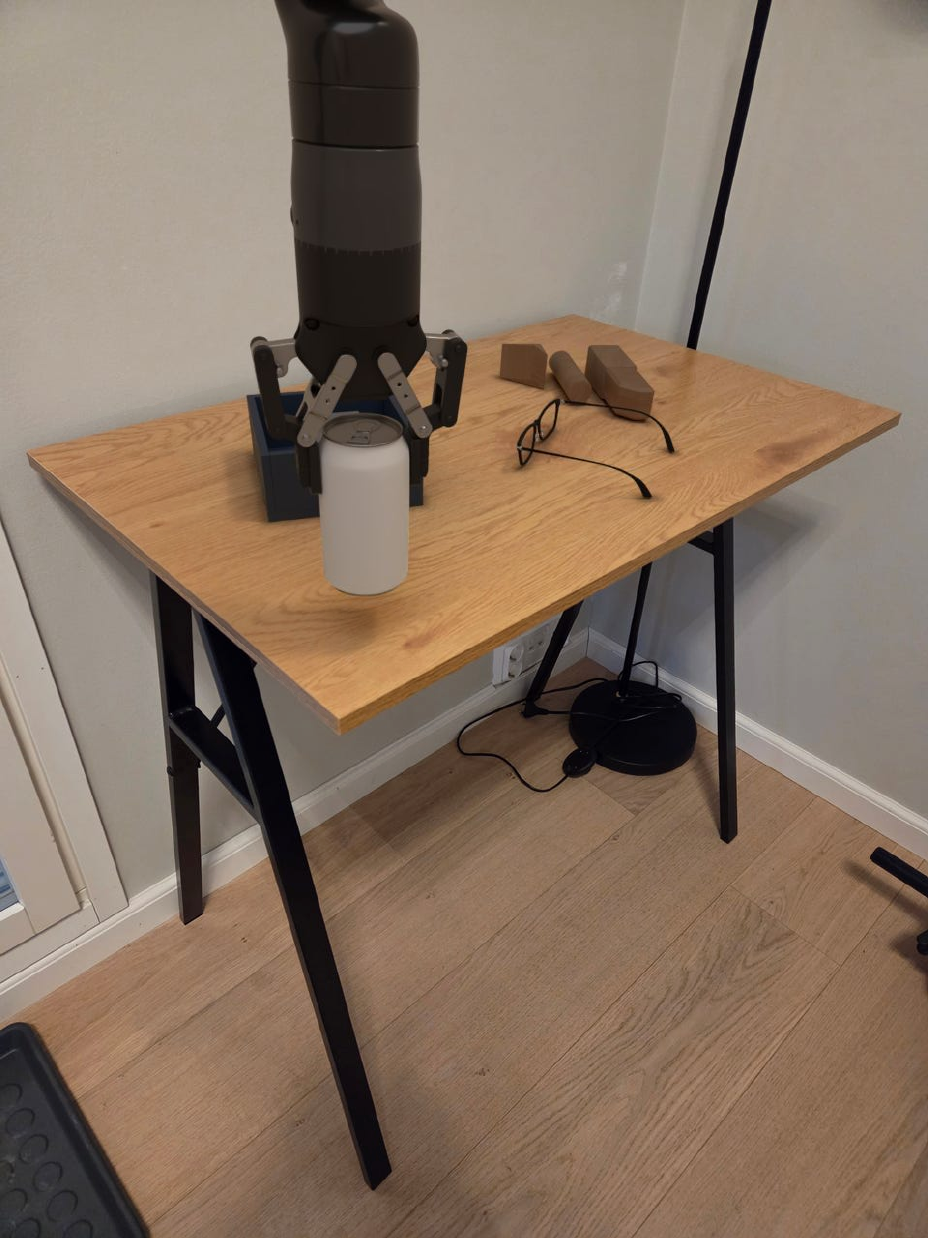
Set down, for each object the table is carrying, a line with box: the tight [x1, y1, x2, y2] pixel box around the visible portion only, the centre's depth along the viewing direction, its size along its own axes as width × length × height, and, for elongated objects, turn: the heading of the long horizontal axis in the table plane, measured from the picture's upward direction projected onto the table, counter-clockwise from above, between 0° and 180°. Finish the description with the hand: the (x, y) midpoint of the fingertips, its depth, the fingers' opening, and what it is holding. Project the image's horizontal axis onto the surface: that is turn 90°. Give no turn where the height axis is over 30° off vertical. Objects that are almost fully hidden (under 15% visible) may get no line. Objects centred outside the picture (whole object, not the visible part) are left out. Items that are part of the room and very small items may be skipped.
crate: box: [246, 390, 424, 523], centre depth 83 cm, size 16×16×7 cm
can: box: [318, 413, 410, 598], centre depth 57 cm, size 6×6×12 cm
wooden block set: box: [499, 343, 656, 421], centre depth 105 cm, size 17×6×18 cm
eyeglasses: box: [515, 397, 676, 499], centre depth 90 cm, size 16×16×4 cm
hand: (364, 484), depth 56 cm, fingers closed on can, 6 cm apart
